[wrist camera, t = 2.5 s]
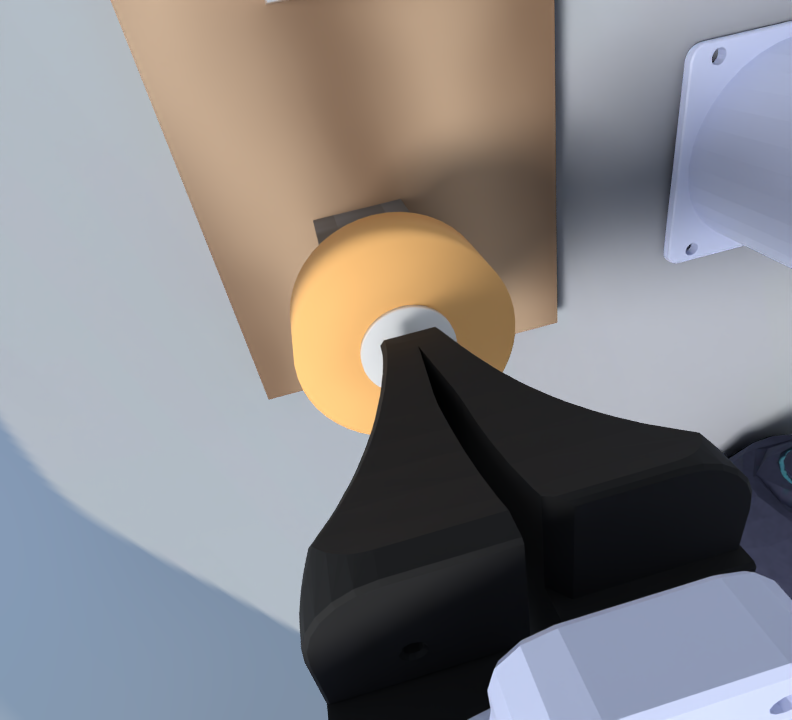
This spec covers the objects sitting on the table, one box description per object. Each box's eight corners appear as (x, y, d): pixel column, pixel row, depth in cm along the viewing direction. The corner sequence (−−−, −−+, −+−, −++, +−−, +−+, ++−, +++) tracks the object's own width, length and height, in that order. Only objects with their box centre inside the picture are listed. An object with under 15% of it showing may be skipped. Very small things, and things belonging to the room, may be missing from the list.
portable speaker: (690, 415, 29) (862, 579, 20) (845, 399, 31) (1060, 542, 22) (582, 673, 42) (660, 834, 34) (695, 650, 44) (795, 798, 36)
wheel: (452, 166, 16) (512, 215, 12) (471, 329, 19) (523, 409, 15) (262, 212, 15) (262, 278, 12) (313, 370, 19) (326, 464, 15)
